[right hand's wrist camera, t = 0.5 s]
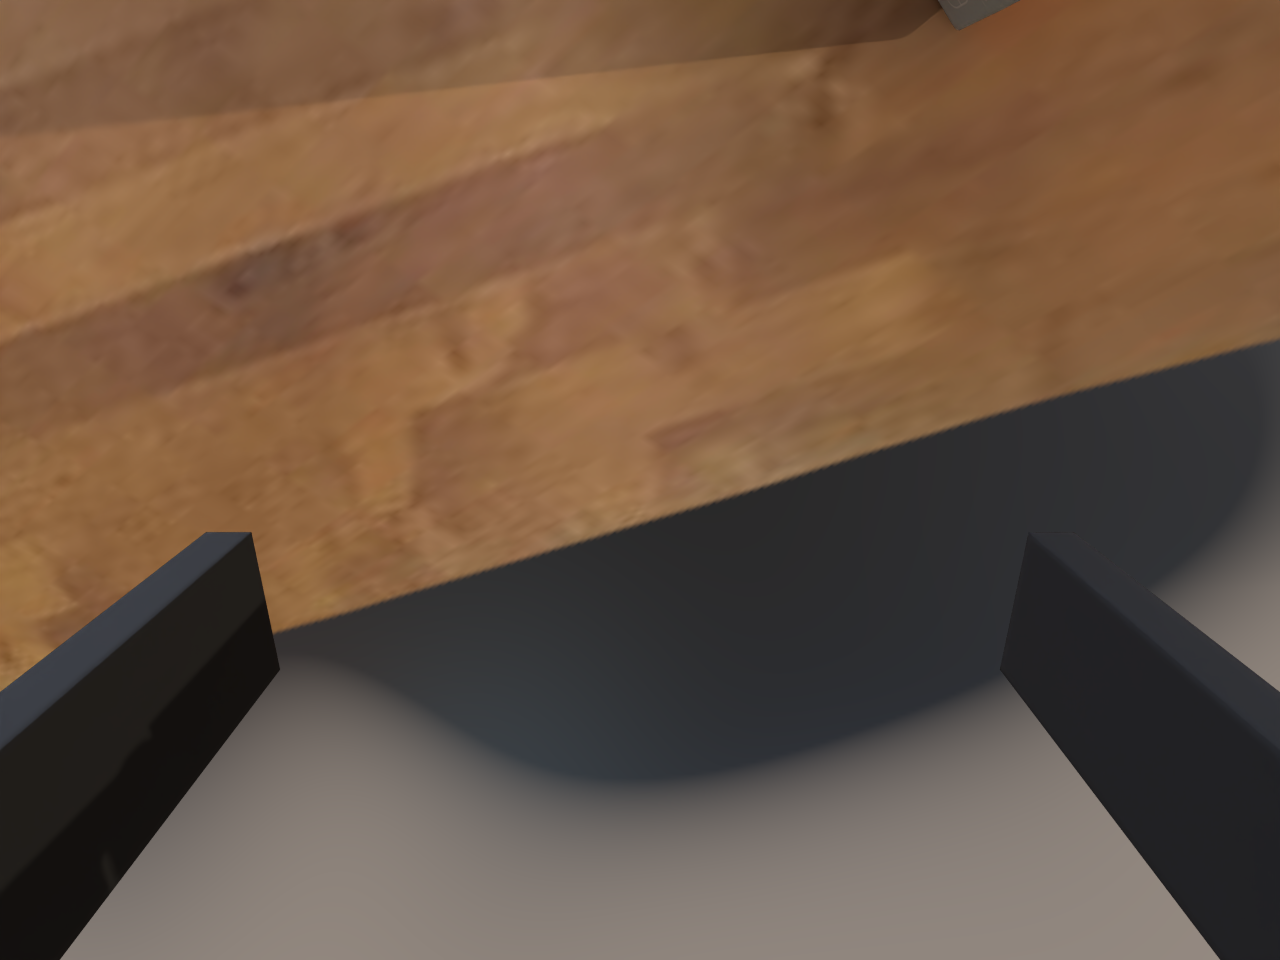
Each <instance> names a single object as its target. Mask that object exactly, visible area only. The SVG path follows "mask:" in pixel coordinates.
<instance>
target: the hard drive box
mask: <svg viewBox="0 0 1280 960" xmlns="http://www.w3.org/2000/svg"><path fill="white" fill-rule="evenodd" d="M938 1H939V3H940V5H941V6H942V8H943V10H944V11H945V13H946V15H947V16H948V18H949V20H950V21H951V23H952V24H953V26H954V27H955V29H956V30H961V29H963V28H965V27H967V26H969V25H971V24H973V23H975V22H977V21H979V20H981V19H984V18H986V17H988V16H990V15H992V14H994V13H996V12H998V11H1000V10H1002V9H1004V8H1006V7H1008V6H1010V5H1012V4H1014V3H1016V2H1018V1H1020V0H938Z"/></svg>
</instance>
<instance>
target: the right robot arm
mask: <svg viewBox="0 0 1280 960" xmlns="http://www.w3.org/2000/svg"><path fill="white" fill-rule="evenodd" d="M279 670H280V667H279V663H278V658H277V653H276V648H275V644H274V639H273V634H272V629H271V624H270V619H269V615H268V610H267V605H266V600H265V595H264V591H263V586H262V581H261V576H260V572H259V567H258V562H257V557H256V552H255V548H254V543H253V538H252V533H251V532H206V533H204V534H203V535H202V536H201V537H199V538H198V539H197V540H195V541H194V542H193V543H192V544H190V545H189V546H188V547H186V548H185V549H184V550H183V551H181V552H180V553H179V554H177V555H176V556H175V557H174V558H172V559H171V560H170V561H168V562H167V563H166V564H165V565H163V566H162V567H161V568H159V569H158V570H157V571H156V572H154V573H153V574H152V575H150V576H149V577H148V578H147V579H145V580H144V581H143V582H141V583H140V584H139V585H137V586H136V587H135V588H134V589H132V590H131V591H130V592H128V593H127V594H126V595H125V596H123V597H122V598H121V599H119V600H118V601H117V602H116V603H114V604H113V605H112V606H110V607H109V608H108V609H107V610H105V611H104V612H103V613H101V614H100V615H99V616H98V617H96V618H95V619H94V620H92V621H91V622H90V623H89V624H87V625H86V626H85V627H83V628H82V629H81V630H80V631H78V632H77V633H76V634H74V635H73V636H72V637H71V638H69V639H68V640H67V641H65V642H64V643H63V644H62V645H60V646H59V647H58V648H56V649H55V650H54V651H53V652H51V653H50V654H49V655H47V656H46V657H45V658H43V659H42V660H41V661H40V662H38V663H37V664H36V665H34V666H33V667H32V668H31V669H29V670H28V671H27V672H25V673H24V674H23V675H22V676H20V677H19V678H18V679H16V680H15V681H14V682H13V683H11V684H10V685H9V686H7V687H6V688H5V689H4V690H2V691H1V692H0V960H60V959H61V957H62V956H63V955H64V953H65V952H66V951H67V950H68V948H69V947H70V946H71V944H72V943H73V942H74V940H75V939H76V938H77V936H78V935H79V934H80V932H81V931H82V930H83V928H84V927H85V926H86V924H87V923H88V922H89V921H90V919H91V918H92V917H93V915H94V914H95V913H96V911H97V910H98V909H99V907H100V906H101V905H102V903H103V902H104V901H105V899H106V898H107V897H108V896H109V894H110V893H111V892H112V890H113V889H114V888H115V886H116V885H117V884H118V882H119V881H120V880H121V878H122V877H123V876H124V874H125V873H126V872H127V870H128V869H129V868H130V867H131V865H132V864H133V862H134V861H135V860H136V859H137V857H138V856H139V855H140V853H141V852H142V851H143V849H144V848H145V847H146V845H147V844H148V843H149V841H150V840H151V839H152V838H153V836H154V835H155V833H156V832H157V831H158V830H159V828H160V827H161V826H162V824H163V823H164V822H165V820H166V819H167V818H168V816H169V815H170V814H171V812H172V811H173V810H174V809H175V807H176V806H177V805H178V803H179V802H180V801H181V799H182V798H183V797H184V795H185V794H186V793H187V791H188V790H189V789H190V787H191V786H192V785H193V783H194V782H195V781H196V780H197V778H198V777H199V776H200V774H201V773H202V772H203V770H204V769H205V768H206V766H207V765H208V764H209V762H210V761H211V760H212V758H213V757H214V756H215V754H216V753H217V752H218V751H219V749H220V748H221V747H222V745H223V744H224V743H225V741H226V740H227V739H228V737H229V736H230V735H231V733H232V732H233V731H234V729H235V728H236V727H237V726H238V724H239V723H240V722H241V720H242V719H243V718H244V716H245V715H246V714H247V712H248V711H249V710H250V708H251V707H252V706H253V704H254V703H255V702H256V701H257V699H258V698H259V697H260V695H261V694H262V693H263V691H264V690H265V689H266V687H267V686H268V685H269V683H270V682H271V681H272V679H273V678H274V677H275V675H276V674H277V673H278V672H279ZM1000 670H1001V672H1002V673H1003V674H1004V675H1005V677H1006V678H1007V679H1008V681H1009V682H1010V683H1011V685H1012V686H1013V687H1014V689H1015V690H1016V691H1017V693H1018V694H1019V695H1020V697H1021V698H1022V699H1023V701H1024V702H1025V703H1026V704H1027V706H1028V707H1029V708H1030V710H1031V711H1032V712H1033V714H1034V715H1035V716H1036V718H1037V719H1038V720H1039V722H1040V723H1041V724H1042V726H1043V727H1044V728H1045V730H1046V731H1047V732H1048V733H1049V735H1050V736H1051V737H1052V739H1053V740H1054V741H1055V743H1056V744H1057V745H1058V747H1059V748H1060V749H1061V751H1062V752H1063V753H1064V755H1065V756H1066V757H1067V758H1068V760H1069V761H1070V762H1071V764H1072V765H1073V766H1074V768H1075V769H1076V770H1077V772H1078V773H1079V774H1080V776H1081V777H1082V778H1083V780H1084V781H1085V782H1086V783H1087V785H1088V786H1089V787H1090V789H1091V790H1092V791H1093V793H1094V794H1095V795H1096V797H1097V798H1098V799H1099V801H1100V802H1101V803H1102V805H1103V806H1104V807H1105V809H1106V810H1107V811H1108V812H1109V814H1110V815H1111V816H1112V818H1113V819H1114V820H1115V822H1116V823H1117V824H1118V826H1119V827H1120V828H1121V830H1122V831H1123V832H1124V834H1125V835H1126V836H1127V838H1128V839H1129V840H1130V841H1131V843H1132V844H1133V845H1134V847H1135V848H1136V849H1137V851H1138V852H1139V853H1140V855H1141V856H1142V857H1143V859H1144V860H1145V861H1146V863H1147V864H1148V865H1149V866H1150V868H1151V869H1152V870H1153V872H1154V873H1155V874H1156V876H1157V877H1158V878H1159V880H1160V881H1161V882H1162V884H1163V885H1164V886H1165V888H1166V889H1167V890H1168V892H1169V893H1170V894H1171V895H1172V897H1173V898H1174V899H1175V901H1176V902H1177V903H1178V905H1179V906H1180V907H1181V909H1182V910H1183V911H1184V913H1185V914H1186V915H1187V917H1188V918H1189V919H1190V921H1191V922H1192V923H1193V924H1194V926H1195V927H1196V928H1197V930H1198V931H1199V932H1200V934H1201V935H1202V936H1203V938H1204V939H1205V940H1206V942H1207V943H1208V944H1209V946H1210V947H1211V948H1212V949H1213V951H1214V952H1215V953H1216V955H1217V956H1218V957H1219V959H1220V960H1280V692H1279V691H1278V690H1276V689H1275V688H1274V687H1273V686H1271V685H1270V684H1269V683H1267V682H1266V681H1265V680H1264V679H1262V678H1261V677H1260V676H1258V675H1257V674H1256V673H1255V672H1253V671H1252V670H1251V669H1249V668H1248V667H1247V666H1245V665H1244V664H1243V663H1242V662H1240V661H1239V660H1238V659H1236V658H1235V657H1234V656H1233V655H1231V654H1230V653H1229V652H1227V651H1226V650H1225V649H1224V648H1222V647H1221V646H1220V645H1218V644H1217V643H1216V642H1215V641H1213V640H1212V639H1211V638H1209V637H1208V636H1207V635H1206V634H1204V633H1203V632H1202V631H1200V630H1199V629H1198V628H1197V627H1195V626H1194V625H1193V624H1191V623H1190V622H1189V621H1188V620H1186V619H1185V618H1184V617H1182V616H1181V615H1180V614H1179V613H1177V612H1176V611H1175V610H1173V609H1172V608H1171V607H1170V606H1168V605H1167V604H1166V603H1164V602H1163V601H1162V600H1161V599H1159V598H1158V597H1157V596H1155V595H1154V594H1153V593H1151V592H1150V591H1149V590H1148V589H1146V588H1145V587H1144V586H1142V585H1141V584H1140V583H1139V582H1137V581H1136V580H1135V579H1133V578H1132V577H1131V576H1130V575H1128V574H1127V573H1126V572H1124V571H1123V570H1122V569H1121V568H1119V567H1118V566H1117V565H1115V564H1114V563H1113V562H1112V561H1110V560H1109V559H1108V558H1106V557H1105V556H1104V555H1103V554H1101V553H1100V552H1099V551H1097V550H1096V549H1095V548H1094V547H1092V546H1091V545H1090V544H1088V543H1087V542H1086V541H1085V540H1083V539H1082V538H1081V537H1079V536H1078V535H1077V534H1076V533H1074V532H1029V533H1028V538H1027V543H1026V548H1025V553H1024V557H1023V562H1022V567H1021V572H1020V576H1019V581H1018V586H1017V591H1016V595H1015V600H1014V605H1013V610H1012V615H1011V619H1010V624H1009V629H1008V634H1007V639H1006V643H1005V648H1004V653H1003V658H1002V663H1001V667H1000Z"/></svg>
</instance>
